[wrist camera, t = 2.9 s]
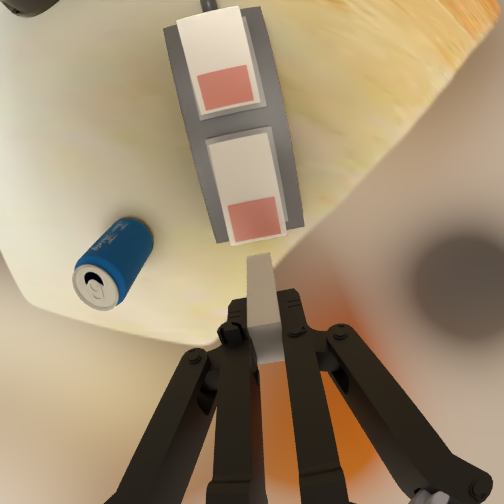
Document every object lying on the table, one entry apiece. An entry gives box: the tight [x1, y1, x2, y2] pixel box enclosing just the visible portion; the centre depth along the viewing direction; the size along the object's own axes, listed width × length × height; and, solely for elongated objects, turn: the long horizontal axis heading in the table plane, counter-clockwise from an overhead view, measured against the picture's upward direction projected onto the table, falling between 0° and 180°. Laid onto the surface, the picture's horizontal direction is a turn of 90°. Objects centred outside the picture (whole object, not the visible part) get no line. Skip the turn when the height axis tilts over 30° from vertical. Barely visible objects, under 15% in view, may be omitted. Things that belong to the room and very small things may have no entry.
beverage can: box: [72, 218, 153, 311], centre depth 29 cm, size 6×6×12 cm
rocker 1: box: [176, 5, 260, 115], centre depth 18 cm, size 9×5×2 cm, turn 11°
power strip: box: [163, 0, 304, 243], centre depth 25 cm, size 31×10×5 cm, turn 12°
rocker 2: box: [209, 133, 287, 246], centre depth 24 cm, size 9×5×2 cm, turn 12°
